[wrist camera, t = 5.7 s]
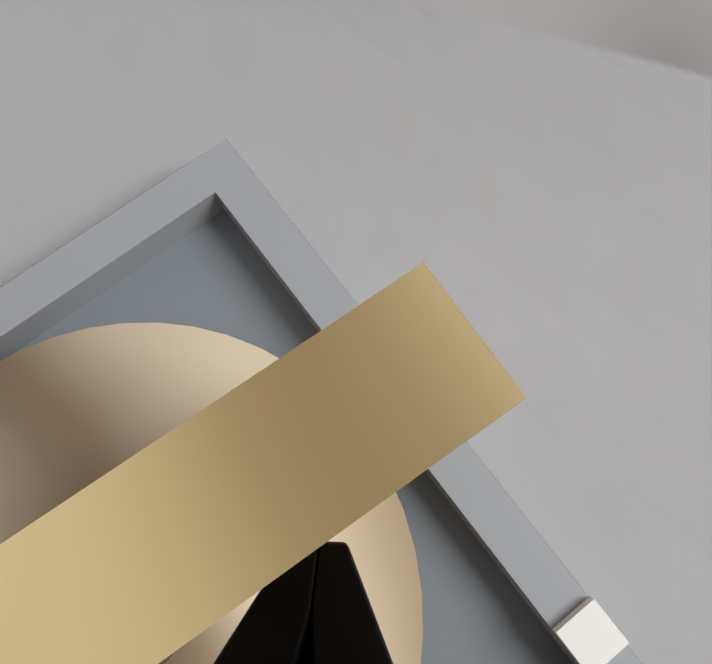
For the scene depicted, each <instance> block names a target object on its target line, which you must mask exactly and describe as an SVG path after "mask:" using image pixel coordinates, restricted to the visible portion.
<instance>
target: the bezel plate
mask: <svg viewBox="0 0 712 664" xmlns="http://www.w3.org/2000/svg"><path fill="white" fill-rule="evenodd" d="M357 306H359V305H358V304H357V303H356V301H355V300H354V299H353V298H352V296H351V295H350V294H349V293H348V291H347V290H346V289H345V288H344V286H343V285H342V284H341V282H340V281H339V280H338V279H337V277H336V276H335V275H334V274H333V272H332V271H331V270H330V269H329V267H328V266H327V265H326V264H325V262H324V261H323V260H322V258H321V257H320V256H319V255H318V253H317V252H316V251H315V250H314V248H313V247H312V246H311V245H310V243H309V242H308V241H307V240H306V238H305V237H304V236H303V235H302V233H301V232H300V231H299V229H298V228H297V227H296V226H295V224H294V223H293V222H292V221H291V219H290V218H289V217H288V216H287V214H286V213H285V212H284V211H283V209H282V208H281V207H280V206H279V204H278V203H277V202H276V200H275V199H274V198H273V197H272V195H271V194H270V193H269V192H268V190H267V189H266V188H265V187H264V185H263V184H262V183H261V182H260V180H259V179H258V178H257V176H256V175H255V174H254V173H253V171H252V170H251V169H250V168H249V166H248V165H247V164H246V163H245V161H244V160H243V159H242V158H241V156H240V155H239V154H238V153H237V151H236V150H235V149H234V147H233V146H232V145H231V144H230V142H229V141H228V140H227V139H225V140H223V141H222V142H220V143H219V144H217V145H216V146H214V147H213V148H211V149H210V150H208V151H207V152H205V153H204V154H202V155H201V156H199V157H198V158H196V159H195V160H193V161H192V162H190V163H189V164H187V165H186V166H184V167H183V168H181V169H180V170H178V171H177V172H175V173H173V174H172V175H170V176H169V177H167V178H166V179H164V180H163V181H161V182H160V183H158V184H157V185H155V186H154V187H152V188H151V189H149V190H148V191H146V192H145V193H143V194H142V195H140V196H139V197H137V198H136V199H134V200H133V201H131V202H130V203H128V204H127V205H125V206H123V207H122V208H120V209H119V210H117V211H116V212H114V213H113V214H111V215H110V216H108V217H107V218H105V219H104V220H102V221H101V222H99V223H98V224H96V225H95V226H93V227H92V228H90V229H89V230H87V231H86V232H84V233H83V234H81V235H80V236H78V237H77V238H75V239H74V240H72V241H70V242H69V243H67V244H66V245H64V246H63V247H61V248H60V249H58V250H57V251H55V252H54V253H52V254H51V255H49V256H48V257H46V258H45V259H43V260H42V261H40V262H39V263H37V264H36V265H34V266H33V267H31V268H30V269H28V270H27V271H25V272H24V273H22V274H21V275H19V276H17V277H16V278H14V279H13V280H11V281H10V282H8V283H7V284H5V285H4V286H2V287H1V288H0V361H1V360H3V359H5V358H6V357H8V356H10V355H12V354H14V353H16V352H18V351H20V350H22V349H25V348H27V347H30V346H32V345H35V344H37V343H40V342H42V341H45V340H47V339H50V338H52V337H56V336H60V335H64V334H67V333H71V332H75V331H78V330H82V329H86V328H92V327H99V326H106V325H113V324H120V323H167V324H176V325H185V326H193V327H197V328H201V329H206V330H210V331H214V332H218V333H222V334H226V335H229V336H231V337H234V338H236V339H239V340H242V341H244V342H247V343H249V344H252V345H254V346H257V347H259V348H261V349H263V350H265V351H267V352H269V353H270V354H272V355H274V356H276V357H278V358H281V357H282V356H284V355H285V354H287V353H288V352H290V351H291V350H293V349H294V348H296V347H297V346H299V345H300V344H302V343H303V342H305V341H306V340H308V339H309V338H311V337H312V336H314V335H315V334H317V333H318V332H320V331H321V330H323V329H324V328H326V327H327V326H329V325H330V324H332V323H333V322H335V321H336V320H338V319H339V318H341V317H342V316H344V315H345V314H347V313H348V312H350V311H351V310H353V309H354V308H356V307H357ZM396 493H397V496H398V498H399V500H400V503H401V505H402V507H403V510H404V513H405V516H406V520H407V523H408V527H409V530H410V533H411V537H412V540H413V544H414V547H415V552H416V558H417V565H418V571H419V577H420V583H421V590H422V615H423V641H422V653H421V664H643V663H642V662H641V661H640V660H639V658H638V657H637V656H636V655H635V653H634V652H633V651H632V650H631V648H630V647H629V646H628V644H629V642H628V641H627V640H626V638H625V637H624V636H623V635H622V633H621V632H620V631H619V630H618V628H617V627H616V626H615V625H614V623H613V622H612V621H611V620H610V618H609V617H608V616H607V614H606V613H605V612H604V611H603V609H602V608H601V607H600V606H599V604H598V603H597V602H596V601H595V599H593V598H592V597H590V596H589V595H588V594H587V593H586V592H585V590H584V589H583V588H582V586H581V585H580V584H579V583H578V581H577V580H576V579H575V578H574V576H573V575H572V574H571V573H570V571H569V570H568V569H567V568H566V566H565V565H564V564H563V563H562V561H561V560H560V559H559V557H558V556H557V555H556V554H555V552H554V551H553V550H552V549H551V547H550V546H549V545H548V544H547V542H546V541H545V540H544V539H543V537H542V536H541V535H540V533H539V532H538V531H537V530H536V528H535V527H534V526H533V525H532V523H531V522H530V521H529V520H528V518H527V517H526V516H525V515H524V513H523V512H522V511H521V510H520V508H519V507H518V506H517V504H516V503H515V502H514V501H513V499H512V498H511V497H510V496H509V494H508V493H507V492H506V491H505V489H504V488H503V487H502V486H501V484H500V483H499V482H498V481H497V479H496V478H495V477H494V475H493V474H492V473H491V472H490V470H489V469H488V468H487V467H486V465H485V464H484V463H483V462H482V460H481V459H480V458H479V457H478V455H477V454H476V453H475V451H474V450H473V449H472V448H471V446H470V445H469V444H468V443H467V441H466V442H465V443H463V444H462V445H460V446H459V447H458V448H456V449H455V450H453V451H452V452H451V453H449V454H448V455H447V456H445V457H444V458H442V459H441V460H440V461H438V462H437V463H435V464H434V465H433V466H431V467H430V468H429V469H427V470H426V471H424V472H423V473H422V474H420V475H419V476H417V477H416V478H415V479H413V480H412V481H411V482H409V483H408V484H406V485H405V486H404V487H402V488H401V489H399V490H398V491H397V492H396Z"/></svg>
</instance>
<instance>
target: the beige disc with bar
mask: <svg viewBox="0 0 712 664" xmlns="http://www.w3.org/2000/svg"><path fill="white" fill-rule="evenodd" d="M525 398H526V397H525V395H524V394H523V393H522V391H521V390H520V389H519V387H518V386H517V385H516V383H515V382H514V381H513V379H512V378H511V377H510V375H509V374H508V373H507V372H506V370H505V369H504V368H503V366H502V365H501V364H500V362H499V361H498V360H497V358H496V357H495V356H494V354H493V353H492V352H491V350H490V349H489V348H488V346H487V345H486V344H485V342H484V341H483V340H482V339H481V337H480V336H479V335H478V333H477V332H476V331H475V329H474V328H473V327H472V325H471V324H470V323H469V321H468V320H467V319H466V317H465V316H464V315H463V313H462V312H461V311H460V310H459V308H458V307H457V306H456V304H455V303H454V302H453V300H452V299H451V298H450V296H449V295H448V294H447V292H446V291H445V290H444V288H443V287H442V286H441V284H440V283H439V282H438V281H437V279H436V278H435V277H434V275H433V274H432V273H431V271H430V270H429V269H428V267H427V266H426V265H425V263H424V262H423V263H422V264H420V265H419V266H417V267H416V268H414V269H413V270H411V271H410V272H408V273H407V274H405V275H404V276H402V277H401V278H399V279H398V280H396V281H395V282H393V283H392V284H390V285H389V286H387V287H386V288H384V289H383V290H381V291H380V292H378V293H377V294H375V295H374V296H372V297H371V298H369V299H368V300H366V301H365V302H363V303H362V304H360V305H359V306H357V307H356V308H354V309H353V310H351V311H350V312H348V313H347V314H345V315H344V316H342V317H341V318H339V319H338V320H336V321H335V322H333V323H332V324H330V325H329V326H327V327H326V328H324V329H323V330H321V331H320V332H318V333H317V334H315V335H314V336H312V337H311V338H309V339H308V340H306V341H305V342H303V343H302V344H300V345H299V346H297V347H296V348H294V349H293V350H291V351H290V352H288V353H287V354H285V355H284V356H282V357H281V358H278V357H276V356H274V355H272V354H270V353H269V352H267V351H265V350H263V349H261V348H259V347H257V346H254V345H252V344H249V343H247V342H244V341H242V340H239V339H236V338H234V337H231V336H229V335H226V334H222V333H218V332H214V331H210V330H206V329H201V328H197V327H193V326H185V325H176V324H167V323H120V324H113V325H106V326H99V327H92V328H86V329H82V330H78V331H75V332H71V333H67V334H64V335H60V336H56V337H52V338H50V339H47V340H45V341H42V342H40V343H37V344H35V345H32V346H30V347H27V348H25V349H22V350H20V351H18V352H16V353H14V354H12V355H10V356H8V357H6V358H5V359H3V360H1V361H0V664H213V663H214V662H215V660H216V659H217V657H218V655H219V654H220V652H221V651H222V649H223V648H224V646H225V645H226V643H227V641H228V640H229V638H230V637H231V635H232V634H233V632H234V630H235V629H236V627H237V626H238V624H239V623H240V621H241V620H242V618H243V616H244V615H245V613H246V612H247V610H248V609H249V607H250V606H251V604H252V602H253V601H254V599H255V598H256V596H257V595H258V593H259V591H260V590H261V589H262V588H264V587H265V586H267V585H268V584H269V583H271V582H272V581H273V580H275V579H276V578H278V577H279V576H280V575H282V574H283V573H285V572H286V571H287V570H289V569H290V568H291V567H293V566H294V565H296V564H297V563H298V562H300V561H301V560H303V559H304V558H305V557H307V556H308V555H309V554H311V553H312V552H314V551H315V550H316V549H318V548H319V547H321V546H322V545H323V544H325V543H326V542H327V541H332V542H345V543H347V545H348V546H349V548H350V551H351V554H352V556H353V559H354V561H355V564H356V567H357V569H358V572H359V575H360V577H361V580H362V582H363V585H364V588H365V590H366V593H367V596H368V598H369V601H370V603H371V606H372V609H373V611H374V614H375V617H376V619H377V622H378V624H379V627H380V630H381V632H382V635H383V638H384V640H385V643H386V646H387V648H388V651H389V653H390V656H391V659H392V661H393V664H421V653H422V641H423V615H422V590H421V583H420V577H419V571H418V565H417V558H416V552H415V547H414V544H413V540H412V537H411V533H410V530H409V527H408V523H407V520H406V516H405V513H404V510H403V507H402V505H401V503H400V500H399V498H398V496H397V493H396V492H397V491H398V490H399V489H401V488H402V487H404V486H405V485H406V484H408V483H409V482H411V481H412V480H413V479H415V478H416V477H417V476H419V475H420V474H422V473H423V472H424V471H426V470H427V469H429V468H430V467H431V466H433V465H434V464H435V463H437V462H438V461H440V460H441V459H442V458H444V457H445V456H447V455H448V454H449V453H451V452H452V451H453V450H455V449H456V448H458V447H459V446H460V445H462V444H463V443H465V442H466V441H467V440H469V439H470V438H471V437H473V436H474V435H476V434H477V433H478V432H480V431H481V430H483V429H484V428H485V427H487V426H488V425H489V424H491V423H492V422H494V421H495V420H496V419H498V418H499V417H501V416H502V415H503V414H505V413H506V412H507V411H509V410H510V409H512V408H513V407H514V406H516V405H517V404H519V403H520V402H521V401H523V400H524V399H525Z"/></svg>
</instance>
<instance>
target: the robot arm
mask: <svg viewBox="0 0 712 664" xmlns="http://www.w3.org/2000/svg"><path fill="white" fill-rule="evenodd" d="M213 664H393V661H392V659H391V656H390V653H389V651H388V648H387V646H386V643H385V640H384V638H383V635H382V632H381V630H380V627H379V624H378V622H377V619H376V617H375V614H374V611H373V609H372V606H371V603H370V601H369V598H368V596H367V593H366V590H365V588H364V585H363V582H362V580H361V577H360V575H359V572H358V569H357V567H356V564H355V561H354V559H353V556H352V554H351V551H350V548H349V546H348V545H347V543H345V542H332V541H327V542H326V543H325V544H323V545H322V546H321V547H319V548H318V549H316V550H315V551H314V552H312V553H311V554H309V555H308V556H307V557H305V558H304V559H303V560H301V561H300V562H298V563H297V564H296V565H294V566H293V567H291V568H290V569H289V570H287V571H286V572H285V573H283V574H282V575H280V576H279V577H278V578H276V579H275V580H273V581H272V582H271V583H269V584H268V585H267V586H265V587H264V588H262V589H261V590H260V591H259V593H258V595H257V596H256V598H255V599H254V601H253V602H252V604H251V606H250V607H249V609H248V610H247V612H246V613H245V615H244V616H243V618H242V620H241V621H240V623H239V624H238V626H237V627H236V629H235V630H234V632H233V634H232V635H231V637H230V638H229V640H228V641H227V643H226V645H225V646H224V648H223V649H222V651H221V652H220V654H219V655H218V657H217V659H216V660H215V662H214V663H213Z"/></svg>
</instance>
